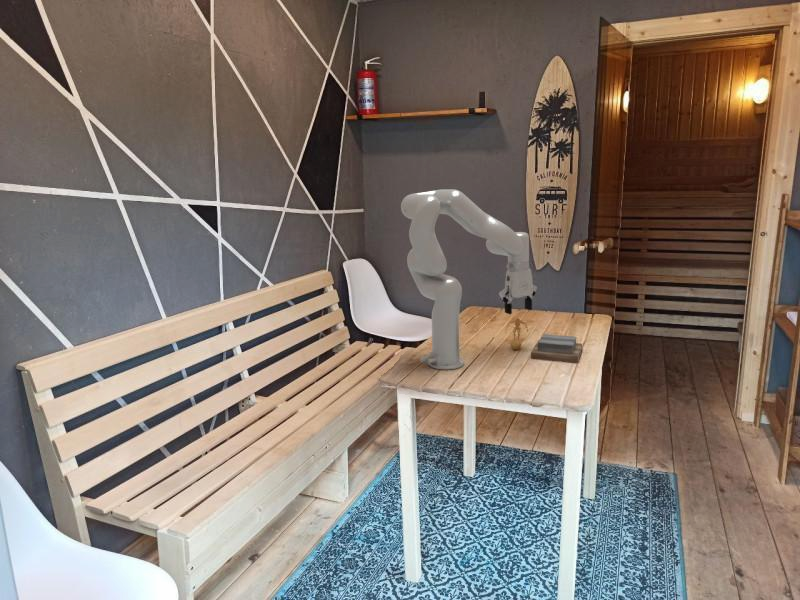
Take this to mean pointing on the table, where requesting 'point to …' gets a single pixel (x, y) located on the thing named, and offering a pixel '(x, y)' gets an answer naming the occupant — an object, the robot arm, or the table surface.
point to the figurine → (516, 343)
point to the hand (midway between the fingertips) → (518, 311)
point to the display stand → (557, 348)
